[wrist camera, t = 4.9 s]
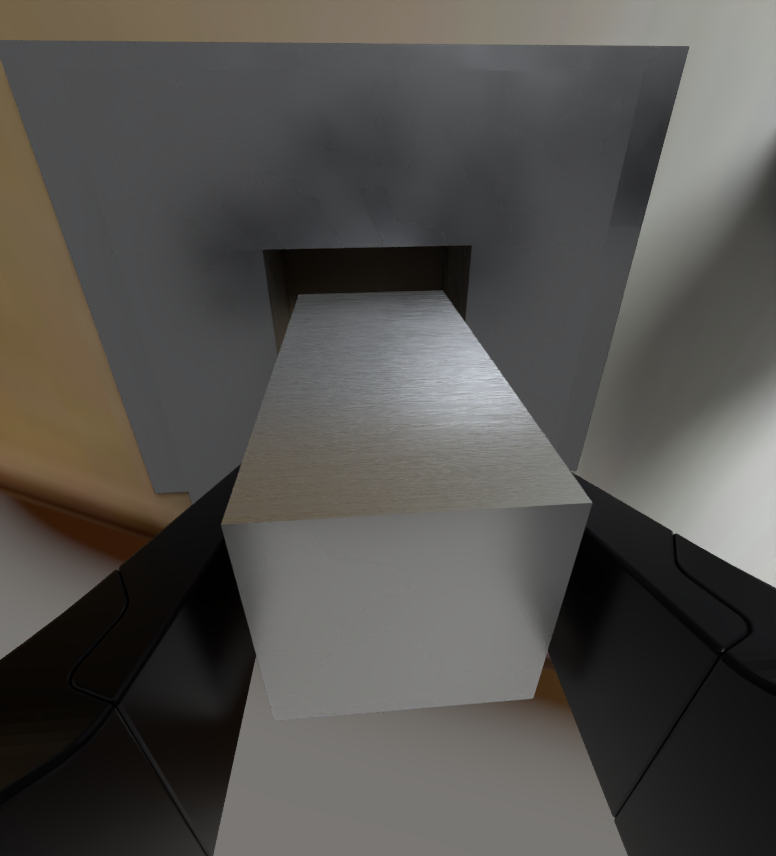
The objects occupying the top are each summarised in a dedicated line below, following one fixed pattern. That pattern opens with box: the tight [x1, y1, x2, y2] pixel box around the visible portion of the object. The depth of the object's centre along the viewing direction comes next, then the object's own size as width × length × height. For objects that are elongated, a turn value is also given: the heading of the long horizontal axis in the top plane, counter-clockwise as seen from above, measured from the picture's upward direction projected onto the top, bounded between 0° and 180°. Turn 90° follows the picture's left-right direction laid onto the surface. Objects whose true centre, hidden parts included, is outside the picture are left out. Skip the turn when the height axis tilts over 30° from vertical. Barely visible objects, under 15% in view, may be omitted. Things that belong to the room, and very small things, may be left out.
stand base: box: [0, 40, 689, 505], centre depth 15 cm, size 20×16×6 cm
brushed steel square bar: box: [221, 290, 592, 721], centre depth 10 cm, size 4×4×9 cm
